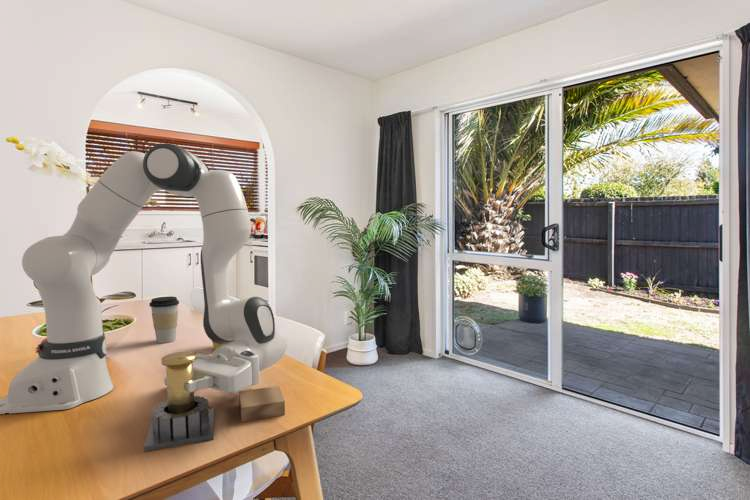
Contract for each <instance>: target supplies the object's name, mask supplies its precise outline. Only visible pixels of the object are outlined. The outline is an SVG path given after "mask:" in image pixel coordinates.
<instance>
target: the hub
mask: <svg viewBox="0 0 750 500" xmlns="http://www.w3.org/2000/svg"><path fill="white" fill-rule="evenodd" d="M194 403H195V408H194V409H193V410H190V411H187V412H185V413H178V414H169V412H168V399H167V400H165V401H163V402H160V403H159V404H157V405H156V406H154V408H153V409H152V412H151V423H150V425H149V428H148V432H147V435H146V438H145V441H144V444H143V452H144V453H145V452H150V451H157V450H163V449H168V448H174V447H179V446H184V445H190V444H197V443H201V442H206V441H211V440H212V441H213V440H214V439H215V438H214V436H215V408H209V399H207V398H205V397H204V396H202V397H201V396H200V395H194Z"/></svg>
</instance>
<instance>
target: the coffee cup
mask: <svg viewBox="0 0 750 500" xmlns="http://www.w3.org/2000/svg"><path fill="white" fill-rule="evenodd" d="M179 304H180V301H179V300H178V298H177V297H176V296H158V297H154V298H152V299H151V302H149V307H150V308H151V317H152V324H153V325H152V326H153V329H154V331H155V339H156V343H158V344H168V343H172V342H175V341H177V340H176V338H177V327H178V317H179V315H178V313H179V310H178V309H179Z"/></svg>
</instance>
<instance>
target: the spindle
mask: <svg viewBox="0 0 750 500" xmlns="http://www.w3.org/2000/svg"><path fill="white" fill-rule="evenodd" d="M197 354H198V353H196V352H194V351H178V352H172V353H169V354H166V355H164V356H163V357H161V359H160V360H161V365H162V366H165V368H166V369H165V371H166V376H167V385H166V387H167V388H166V389H167V400H168V412H169V414H178V413H185V412H187V411H190V410H193V409H194V408H195V403H194V396H195V391H193V392H189V391H185V383H186V382H188V381H190V380H193V362H194V361H195V360H196V359H197Z"/></svg>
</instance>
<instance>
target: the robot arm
mask: <svg viewBox="0 0 750 500" xmlns="http://www.w3.org/2000/svg"><path fill="white" fill-rule="evenodd" d="M160 191H165V192H167V193H169V194H170V195H175V196H179V197H182V198H185V199H194V200H196V202H197V205H198V209H199V212H200V217H201V222H202V223H201V224H202V229H203V230H202V231H203V241H202V247H201V250H200V272H201V279H202V280H201V281H202V282H201V283H202V292H203V300H204V301H203V302H204V311H203V321H202V324H203V329H204V332H205V334H206V336H207V337H208V339H209V340H210V341H211V342H212V341H213V342H215V343H218V344H226V343H229V342H232V343H229V344H226V345H223V346H220V347H218V348H217V349H216V350H215V349H214V351H213V353H212V356H211V355H208V354H207V355H206V354H202V353H196V354H197V359H196V360H195V361H194V362H193V380H190V381H188V382H186V383H185V391H189V392H193V391H194V392H195V391H198V390H199V391H200V390H206V389H212V390H216V391H220V392H224V393H228V394H232V393H237V392H238V393H239V391H244V390H246V389H247V388H249V387H251V386H256V385H258V384H259V383H260V372H262V371H264V370H266V369H268V368H270V367H272V366H273V365H275V364H277V363H278V362H279V361H280V360H281V359H282V358H283V357H284V355H285V354H286V351H287V347H288V342H287V339H286V336H285V334H284V333H283V332H282V331H281V330H279V328H278V327H277V326H276V324H275V317H274V313H273V310H272V307H271V306H270V304H269V303H268V302H267V301H266V300H265V299H264V298H262V297H259V296H251V297H246V298H243V299H238V300H235V301H231V299H230V293H229V292H230V291H229V283H228V275H227V274H228V273H227V271H228V266H229V263H230V261H231V260H232V258H233V257H235V255H236V254H237V253H238V252H239V251H240V250H242V248H243V247H244V246H245V245H246V244H247V242H248V240H249V239H250V236H251V234H252V224H251V223H252V222H251V218H250V213H249V209H248V206H247V202H246V197H245V196H244V193H243V190H242V187H241V186H240V182H239V181H238V179H237V177H236V175H235V174H233V173H232V172H230V171H227V170H225V169H215V170H211V169H210V168H209V166H208V165H207V164H206V163H205V162H204V161H202V160H201V158H200V157H198V156H197V155H196V154H195V153H193V152H191V151H188V150H186V149H185V148H183V147H181V146H179V145H177V144H173V143H167V142H165V143H158V144H156V145H153V146H152V147H150V148H149V149H148V150H147V152H146V153H143V152H141V151H136V150H132V151H127V152H125V153H123V154H122V155H120V157H119V158H117V159H116V160H115V161H114V162H113V163H112V164H111V165H110V166H109V167H108V168H107V169H106V170H105V171H104V172H103V173H102V175H101V176H100V177H99V179H98V180H97V181H96V182H95V184H94V185H93V186H92V187H91V188H90V190H89V191H88V192H87V193H86V194H85V196H84V198H83V199H82V200H81V201H80V202H79V203H78V206H77V212H76V215H75V218H74V220H73V222H72V224H71V226H70V228H69V229H68V230H67V232H66V233H64V234H63V235H53V236H47V237H45V238H43V239H40V240H38V241H36V242H35V243H32V245H30V246H29V247H27V248H26V250H25V251H24V253H23V256H22V259H21V266H22V269H23V272H24V273H25V274H26V276H27V277H29V279H30V280H32V281H33V282H34V284H35V286H36V289H37V291H38V293H39V296H40V298H41V301H42V304H43V309H44V316H45V327H46V328H45V329H46V337H45V338H44V339H42V341H40V343H39V344H38V345H37V346H36V348H35V353H36V354H38V357H37V358H36V359H34V360H33V361H32V362H30V363H29V364H28V365H26V367H24V368H23V369H22V370H20V371H19V372H17V374H15V376H14V377H12V379H11V381H10V384H9V386H8V391H7V395H5V396H4V397H3V398H1V399H0V415H6V414H5V413H9V414H18V413H19V414H21V413H33V412H34V413H35V412H45V411H47V412H48V411H60V410H69V409H73V408H75V407H77V406H79V405H81V404H83V403H87V402H90V401H92V400H96V399H98V398H101V397H102V396H104V395H106V394H108V393H109V392H112V390H113V389H114V383H113V381H112V379H111V376H110V373H109V369H108V364H107V359H106V358H107V357H106V355H107V339H106V333H104V330H103V315H102V313H103V312H102V303H101V301H100V299H99V298H98V297H97V295H96V293H95V290H94V286H93V283H92V279H91V277H92V276H95V275H97V274H98V273H100V271H102V270H103V269H104V268H105V267H106V266H107V265H108V263H109V261H110V259H111V257H112V254H113V253H114V251H115V249H116V247H117V245H118V243H119V241H120V239H121V238H122V236H123V234H124V232H126V230H127V228H128V227H129V226H130V224H131V223H132V222H133V221H134V219H135V218H136V217H137V215H138V214H139V213H140V212H141V210H142V209H143V207H145V205H146V203H148V202H149V199H150V198H151V197H152V196H153V195H155V194H156V193H157V192H160ZM233 341H234V342H233ZM213 342H212V343H213ZM163 381H164V382H163V383H164V385H165V386H167V375H166V376H165V377H164V379H163Z"/></svg>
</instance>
